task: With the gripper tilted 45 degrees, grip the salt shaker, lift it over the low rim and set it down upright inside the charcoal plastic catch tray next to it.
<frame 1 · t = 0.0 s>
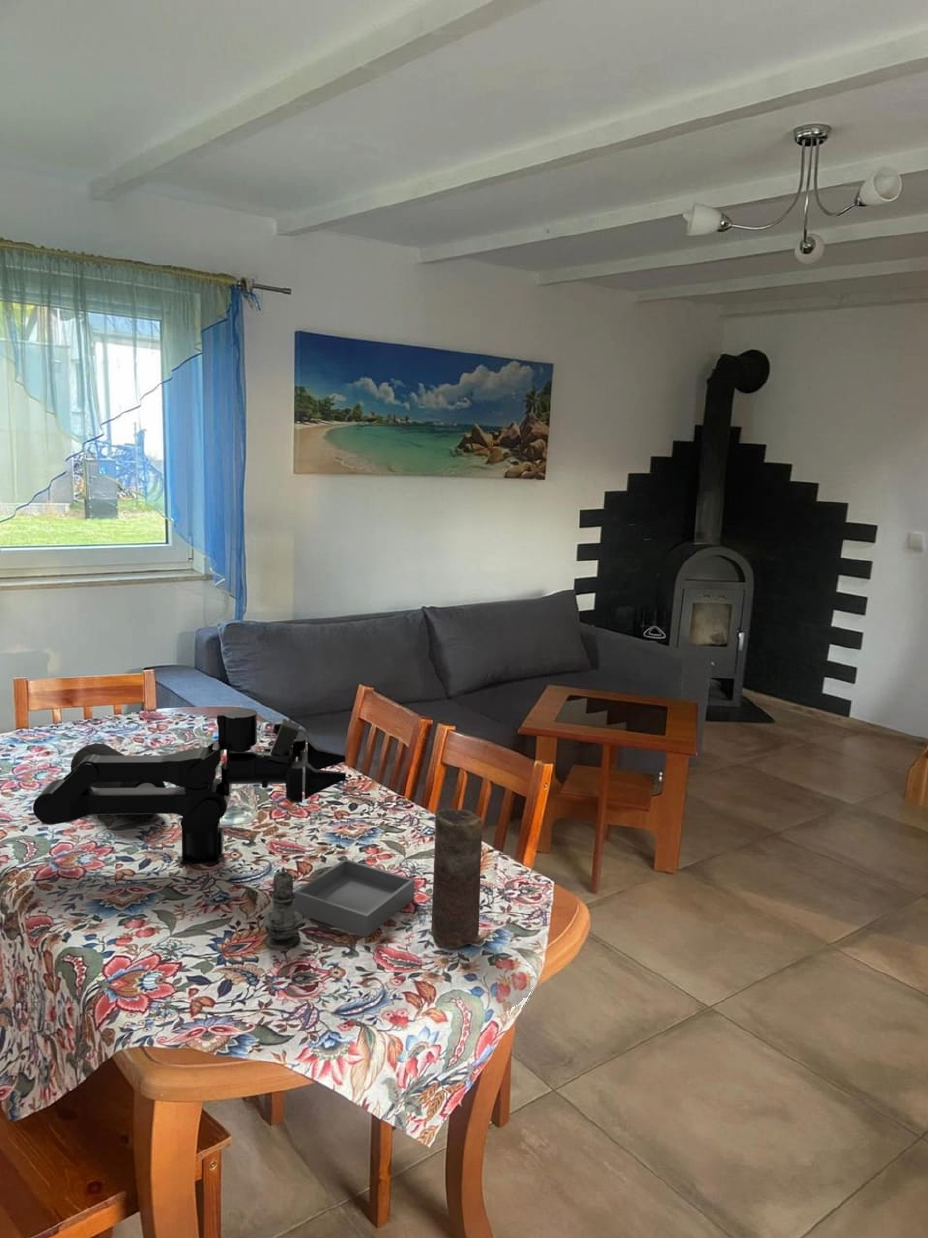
hand: (345, 767, 162), 17 cm above the table, tool horizontal, fingers open, 9 cm apart
catch tray: (354, 905, 146), on the table
portable speaker: (117, 804, 183), on the table
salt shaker: (282, 942, 135), on the table
candle: (454, 938, 138), on the table
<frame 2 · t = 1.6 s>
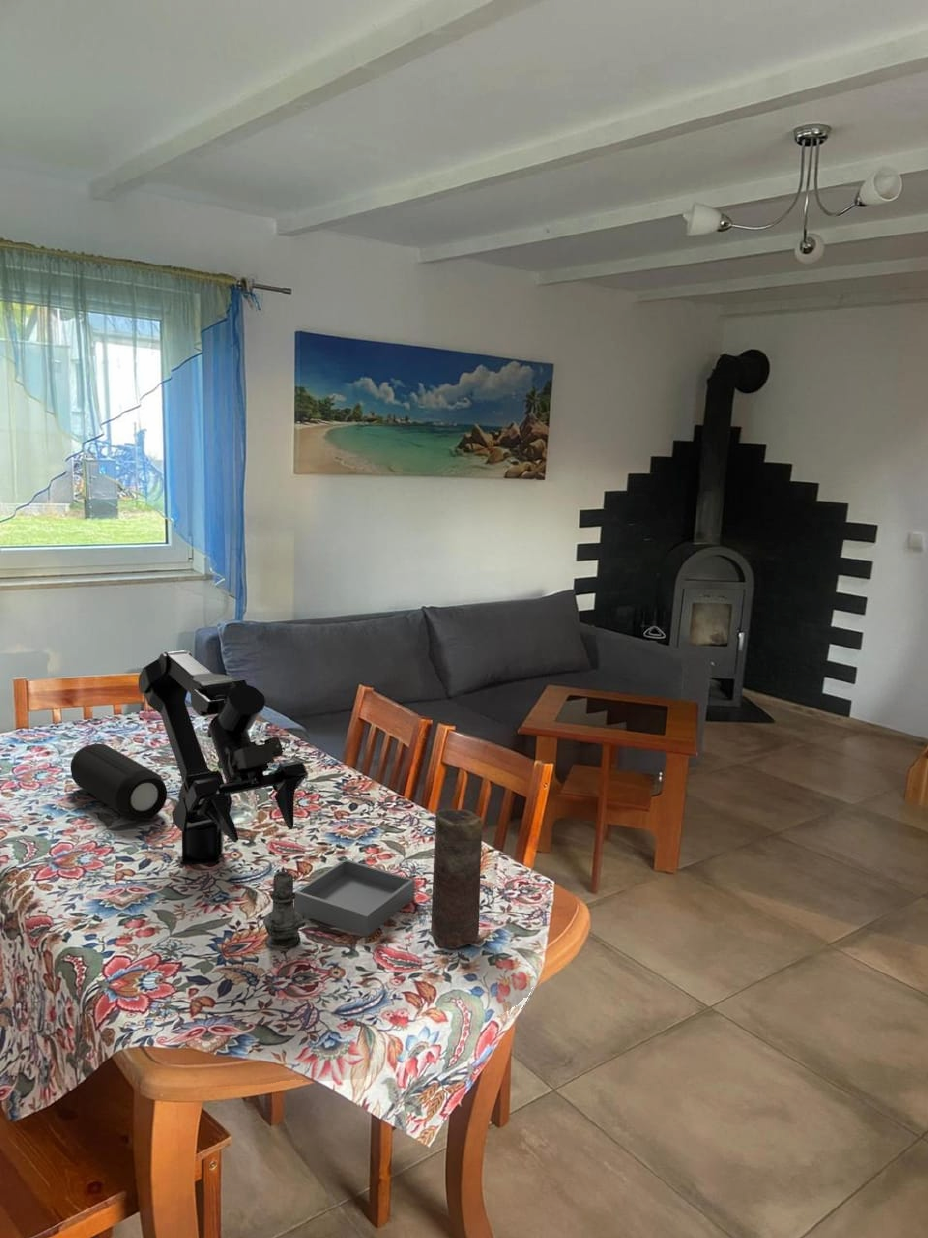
hand: (264, 834, 139), 14 cm above the table, tool tilted 45°, fingers open, 9 cm apart
nothing on the table moved.
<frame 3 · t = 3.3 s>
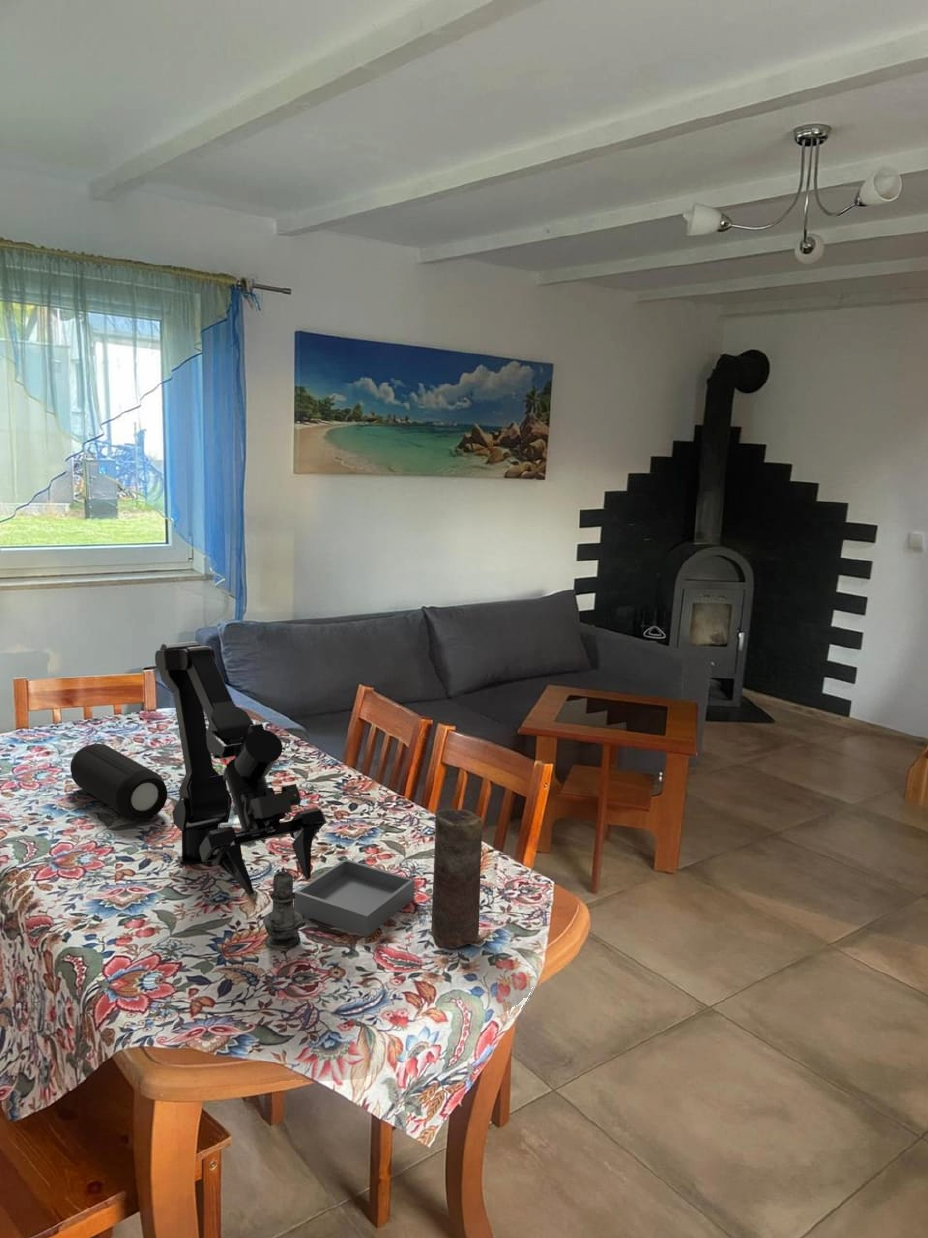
hand: (280, 886, 134), 9 cm above the table, tool tilted 45°, fingers open, 9 cm apart
nothing on the table moved.
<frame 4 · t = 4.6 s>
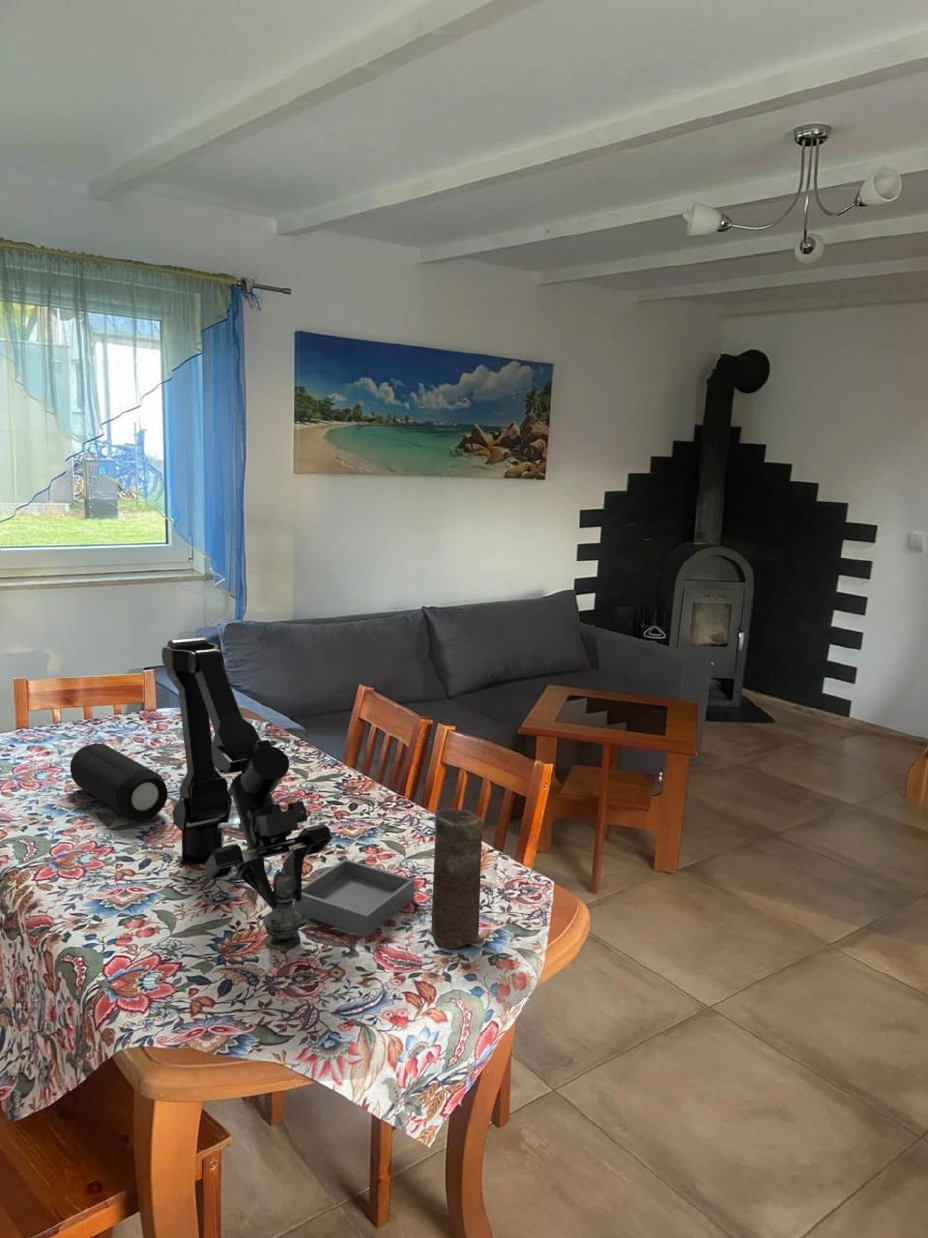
hand: (287, 904, 133), 7 cm above the table, tool tilted 45°, fingers closed on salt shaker, 4 cm apart
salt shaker: (282, 942, 135), on the table, touching gripper
everything else where it was.
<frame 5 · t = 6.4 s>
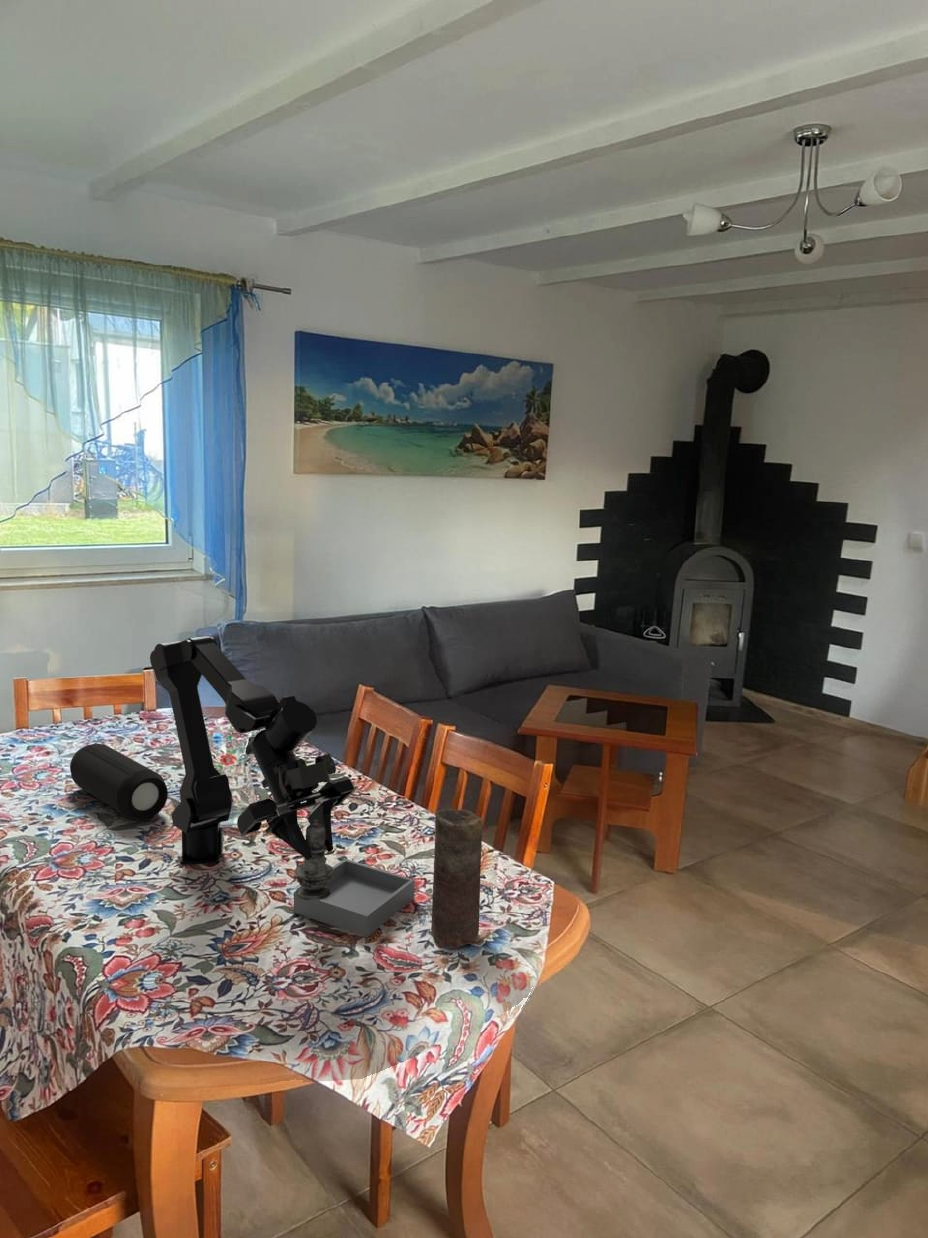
hand: (320, 854, 135), 13 cm above the table, tool tilted 45°, fingers closed on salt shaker, 4 cm apart
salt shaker: (313, 893, 138), point 6 cm above the table, touching gripper
everything else where it was.
when the fingers open (9 cm above the table, at t = 8.3 s): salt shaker drops 1 cm, resting on catch tray.
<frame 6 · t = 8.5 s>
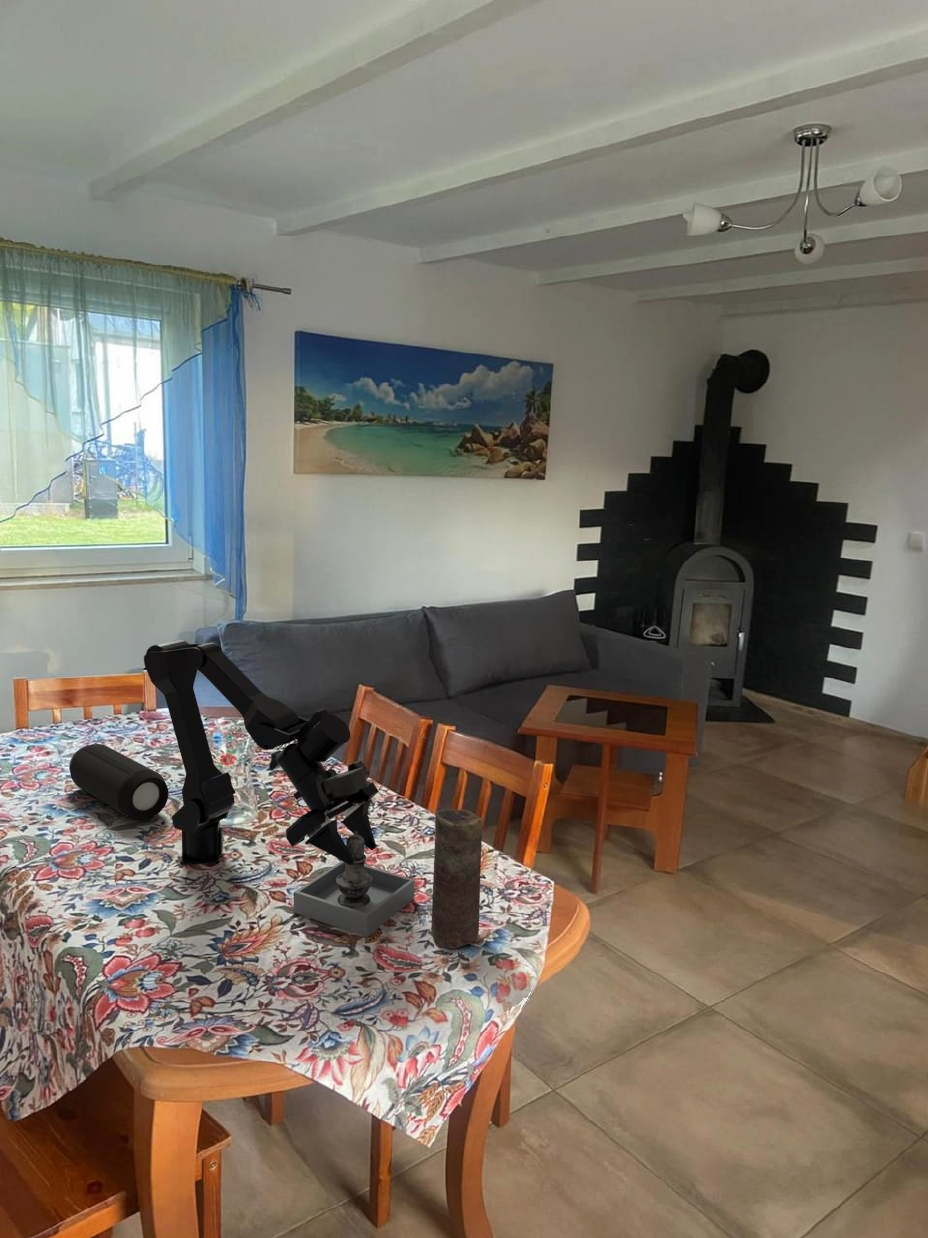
hand: (363, 856, 144), 9 cm above the table, tool tilted 45°, fingers open, 6 cm apart
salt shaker: (353, 901, 146), point 1 cm above the table, touching catch tray
everything else where it was.
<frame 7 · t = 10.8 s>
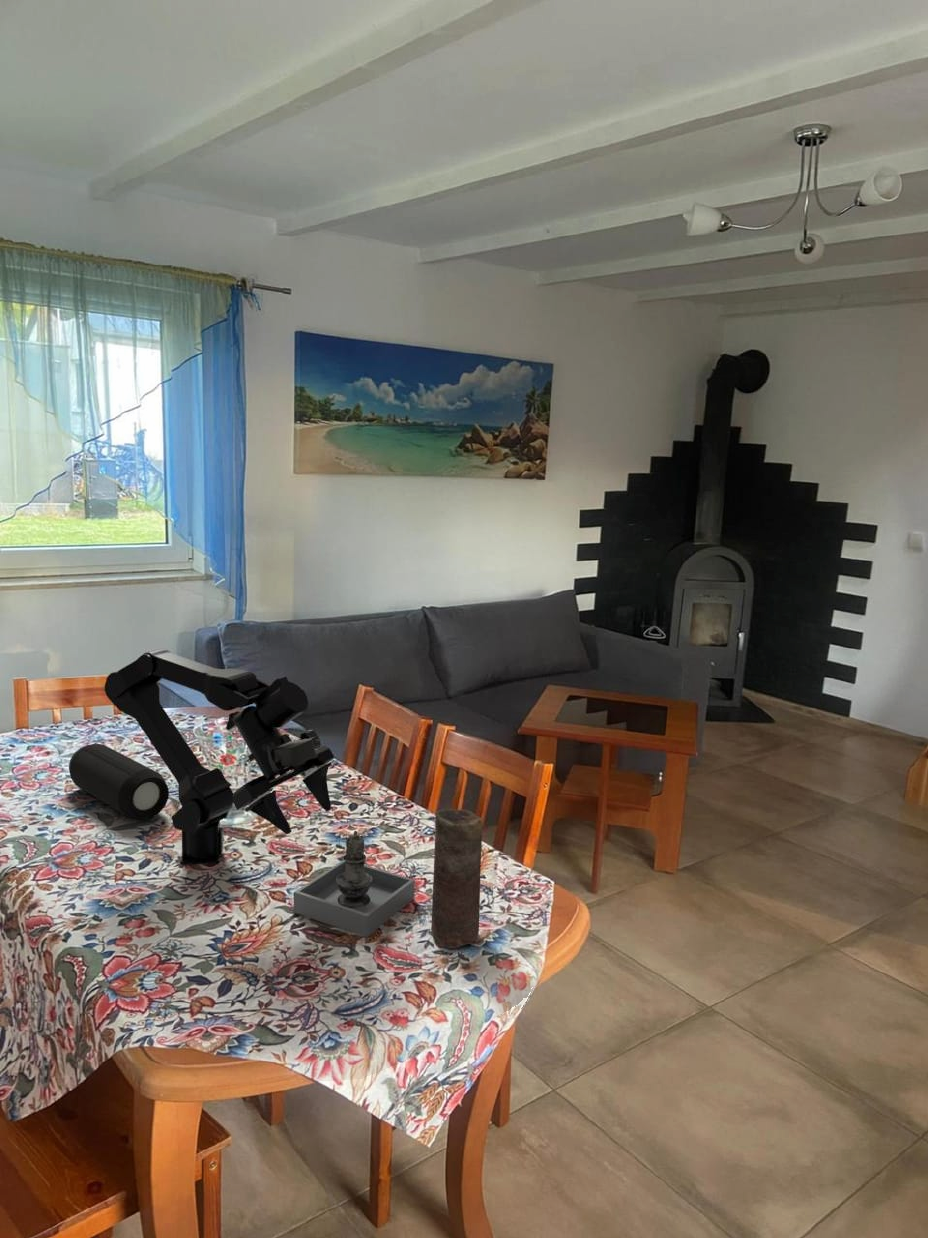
hand: (309, 821, 148), 12 cm above the table, tool tilted 40°, fingers open, 9 cm apart
nothing on the table moved.
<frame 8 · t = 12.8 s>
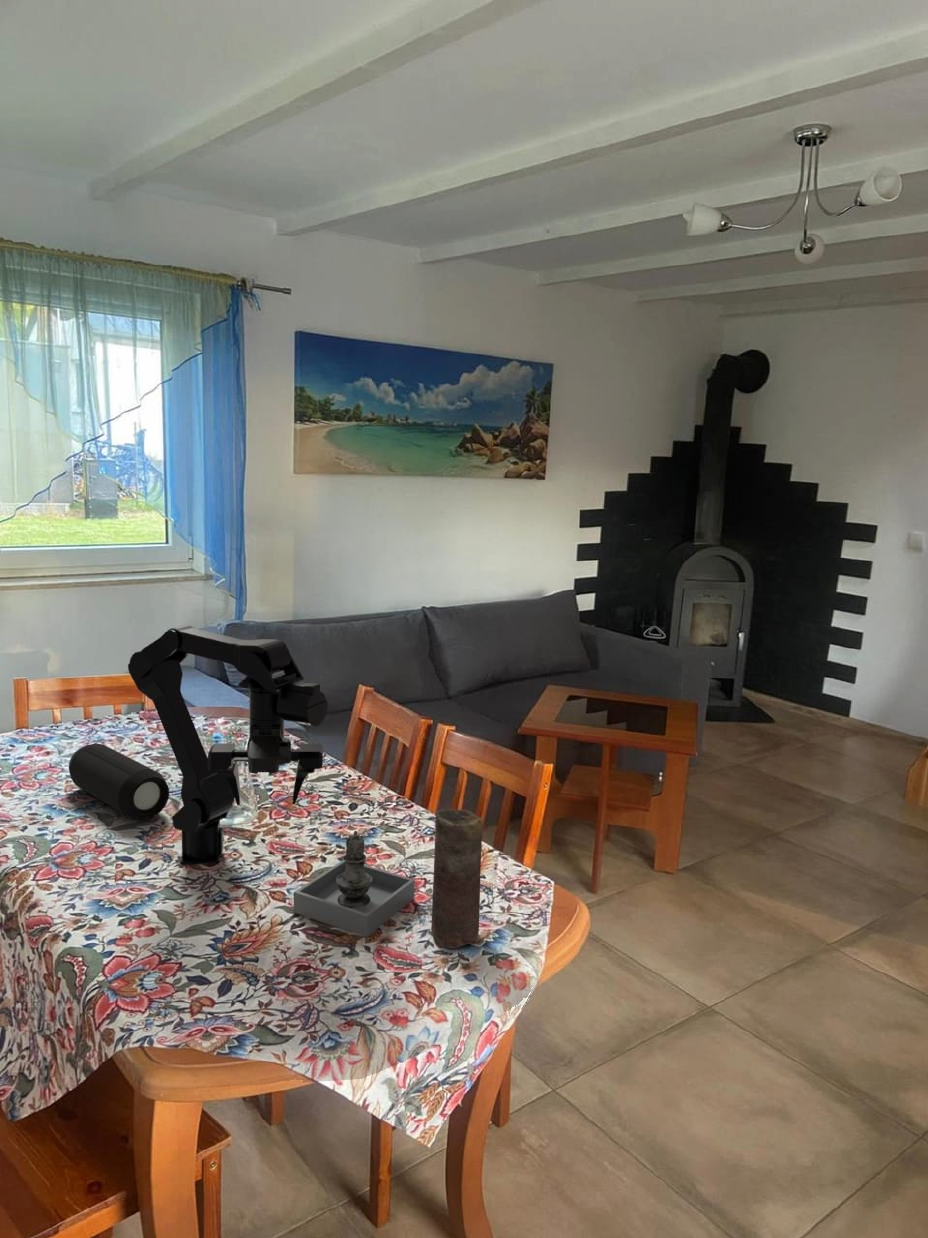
hand: (266, 804, 153), 13 cm above the table, tool pointing down, fingers open, 9 cm apart
nothing on the table moved.
at the end: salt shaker inside the target area on the catch tray (0.2 cm from its centre), point 0.8 cm above the catch tray's base; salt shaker tilted 0°; the gripper is holding nothing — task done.
